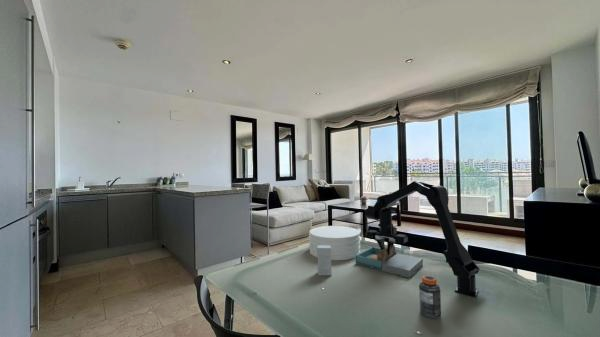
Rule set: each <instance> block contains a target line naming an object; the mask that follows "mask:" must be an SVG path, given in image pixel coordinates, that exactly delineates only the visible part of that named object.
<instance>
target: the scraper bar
mask: <svg viewBox="0 0 600 337" xmlns="http://www.w3.org/2000/svg"><path fill="white" fill-rule="evenodd" d="M395 251H396V246H395V245H393V247H392V249H391V252H390V255H388V248H387V246H385V248H384V249H383V250H381V251H379V252H378V253H377V259H378V260H380V261H382V262H383V261H385V260H386V259H388V258H389V257H391V256H392V255H394V254H395Z"/></svg>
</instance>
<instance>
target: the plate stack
mask: <svg viewBox="0 0 600 337" xmlns="http://www.w3.org/2000/svg"><path fill="white" fill-rule="evenodd" d="M360 235H361V232H360V230H359V229H357V228H354V227H351V226H350V227H349V226H343V225H325V226H317V227H314V228H312V229H310V230H309V253H310V254H311V255H312V256H313V257H315V258H318V257H317V246H318V245H330V246H331V261H347V260H351V259H352V260H353V259H356V255H358V254H359V253H361V236H360Z"/></svg>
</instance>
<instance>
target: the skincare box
mask: <svg viewBox="0 0 600 337" xmlns="http://www.w3.org/2000/svg"><path fill="white" fill-rule="evenodd" d="M316 258H317V276H332V274H333V273H332V272H333V271H332V260H331V246H330V245H318V246H317V257H316Z"/></svg>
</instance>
